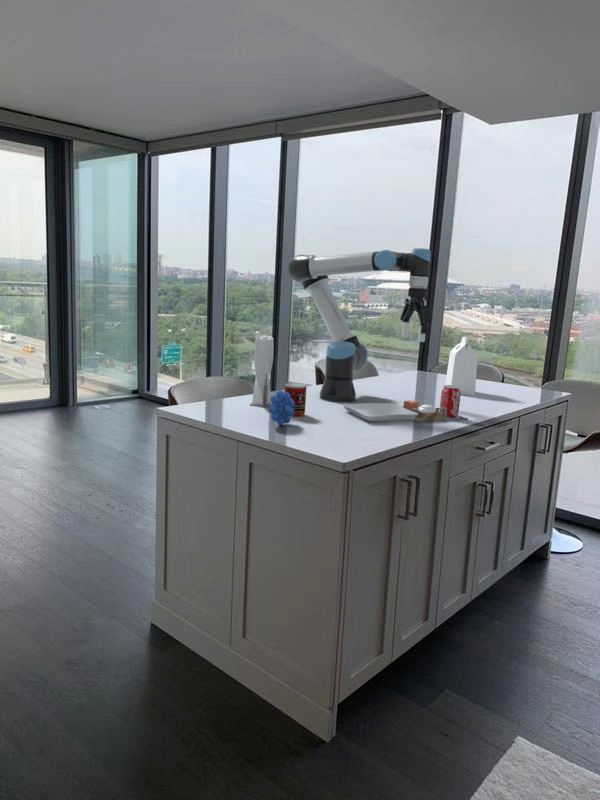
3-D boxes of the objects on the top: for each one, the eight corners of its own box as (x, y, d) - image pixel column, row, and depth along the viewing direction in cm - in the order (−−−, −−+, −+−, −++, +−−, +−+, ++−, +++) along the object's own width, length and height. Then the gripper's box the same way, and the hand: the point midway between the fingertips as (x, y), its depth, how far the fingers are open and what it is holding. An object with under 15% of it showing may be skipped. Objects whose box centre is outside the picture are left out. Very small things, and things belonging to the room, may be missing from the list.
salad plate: (340, 412, 234) (341, 403, 233) (389, 410, 242) (390, 401, 241) (367, 425, 215) (368, 415, 214) (419, 423, 223) (419, 413, 222)
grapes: (277, 430, 199) (279, 393, 196) (263, 426, 203) (264, 390, 201) (302, 425, 207) (304, 390, 205) (287, 421, 212) (289, 387, 209)
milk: (475, 395, 285) (481, 339, 280) (450, 393, 285) (456, 337, 280) (468, 390, 297) (474, 337, 292) (444, 389, 297) (450, 335, 292)
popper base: (422, 421, 224) (423, 413, 223) (409, 416, 232) (410, 408, 231) (443, 420, 227) (444, 412, 226) (430, 415, 235) (430, 407, 234)
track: (445, 421, 226) (445, 419, 226) (417, 409, 244) (417, 408, 244) (468, 420, 230) (468, 418, 230) (438, 409, 248) (439, 407, 248)
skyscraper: (246, 404, 235) (249, 331, 230) (256, 401, 243) (259, 330, 237) (265, 407, 232) (269, 333, 227) (275, 404, 239) (279, 332, 234)
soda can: (459, 417, 235) (462, 386, 233) (455, 420, 229) (459, 388, 226) (441, 414, 238) (444, 384, 235) (437, 417, 231) (440, 386, 229)
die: (410, 413, 237) (411, 402, 236) (403, 411, 240) (403, 400, 239) (417, 412, 239) (418, 402, 239) (410, 410, 242) (411, 400, 242)
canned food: (289, 417, 218) (291, 386, 216) (280, 412, 225) (281, 383, 223) (308, 416, 222) (310, 386, 220) (298, 411, 229) (300, 382, 227)
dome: (423, 416, 225) (424, 408, 224) (414, 412, 231) (415, 404, 230) (438, 416, 227) (439, 407, 227) (429, 412, 233) (430, 404, 232)
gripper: (442, 289, 239) (436, 343, 244) (410, 286, 262) (406, 336, 267) (426, 288, 237) (420, 343, 241) (395, 285, 260) (390, 336, 264)
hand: (412, 339), depth 254 cm, fingers open, 13 cm apart
